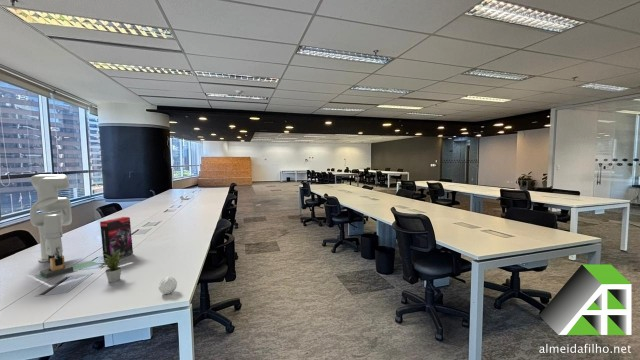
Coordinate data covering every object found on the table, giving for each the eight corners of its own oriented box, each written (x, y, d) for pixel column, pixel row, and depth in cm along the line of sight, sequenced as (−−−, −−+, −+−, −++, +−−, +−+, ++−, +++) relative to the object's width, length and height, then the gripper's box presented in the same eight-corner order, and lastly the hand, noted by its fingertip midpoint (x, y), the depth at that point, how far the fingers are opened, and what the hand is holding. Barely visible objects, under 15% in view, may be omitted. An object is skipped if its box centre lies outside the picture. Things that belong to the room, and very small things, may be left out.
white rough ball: (157, 298, 127) (156, 282, 127) (160, 291, 134) (159, 276, 134) (176, 294, 131) (175, 279, 130) (178, 288, 138) (177, 273, 137)
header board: (35, 277, 156) (34, 270, 156) (90, 262, 179) (90, 256, 178) (43, 281, 150) (43, 274, 149) (99, 265, 172) (99, 259, 172)
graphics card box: (110, 262, 177) (107, 221, 176) (102, 262, 179) (99, 221, 177) (133, 254, 194) (131, 216, 192) (125, 253, 195) (123, 216, 194)
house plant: (102, 276, 154) (100, 248, 153) (131, 272, 159) (129, 245, 158) (93, 287, 141) (91, 256, 140) (125, 282, 146) (123, 252, 145)
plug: (50, 273, 157) (49, 258, 157) (63, 270, 162) (62, 255, 162) (53, 274, 156) (52, 259, 155) (65, 271, 161) (64, 256, 160)
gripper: (39, 235, 158) (41, 263, 159) (50, 238, 150) (53, 268, 151) (56, 232, 165) (58, 259, 166) (68, 235, 156) (70, 264, 157)
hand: (55, 263), depth 158 cm, fingers open, 9 cm apart
